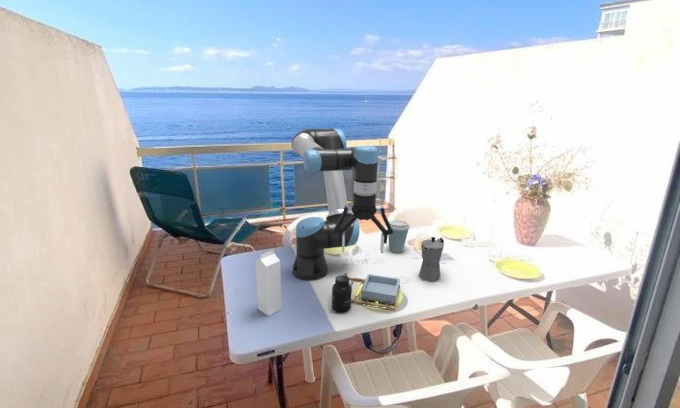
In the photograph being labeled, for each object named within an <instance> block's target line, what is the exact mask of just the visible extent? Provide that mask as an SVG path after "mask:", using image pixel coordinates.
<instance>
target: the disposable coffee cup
mask: <svg viewBox="0 0 680 408" xmlns="http://www.w3.org/2000/svg"><path fill="white" fill-rule="evenodd" d="M389 224H390V226H391V228H392V230H393V233H392V234H388V236H387V239H388V249H389V251H390V252H391V253H394V254H400V253H402V252H403V251H404V248H405V244H406V242H407V241H406V240H407V237H408V233H409V229H410V224H409V222H408V221H405V220H396V219H395V220H390V221H389Z"/></svg>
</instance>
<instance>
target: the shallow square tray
mask: <svg viewBox="0 0 680 408" xmlns="http://www.w3.org/2000/svg"><path fill="white" fill-rule="evenodd" d="M365 279H366V280H365V283H364V284H363V287H362V289H361V292H360V299H363V301H366V302H369V301H379V303H380V302H381V303H385V304H386V303H387V305H389V306H393V305H396V303H397V297H398V294H399V289H400V288H399V285H400V283H401V280H400V278H397V277H391V276H383V275H377V274H370V273H368V274H367V275H366V277H365Z"/></svg>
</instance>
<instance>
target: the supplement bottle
mask: <svg viewBox="0 0 680 408" xmlns="http://www.w3.org/2000/svg"><path fill="white" fill-rule="evenodd" d="M349 277H350V276H348V275H347V276H345V275H343V274H339V275H337V276H335V279H334V280H335V282H334V283H333V284H332V289H331V293H332V294H331V308H332V310H333V311H334V312H335V313H338V314H346V313H348V312H349V311H350V310H351V308H352V303H351V299H352V291H353V290H352V289H353V286H352V287H351V285H350V280H349Z"/></svg>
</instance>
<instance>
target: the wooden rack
mask: <svg viewBox="0 0 680 408" xmlns="http://www.w3.org/2000/svg"><path fill="white" fill-rule="evenodd" d="M342 275H345V276H348V273H347V272H344V273H343V274H342ZM348 277H349V281H350V282H349V284H350V285H351V287H352V288H353V286H354V283H355V282H359V283H360V284H359V286H360V285H361V284H363V285H364V283H365V280H366V278H359V277H352V276H348ZM400 288H401V284H399V289H400ZM359 297H360V294H358V295H357V296H356V294H355V295H354V298H351V304H355V305H362V306H366V305H370V306H369V307H371V306H378V307H386V308H389V309H388V310H390V311H393V312H394V311H396V306H393V305H391V306H389V305H386V304H383V303H378V304H377V303H375V302H373V301H372V302H370V301H368V302H366V301H364V300H360V299H359V300H358V299H357V298H359ZM363 304H365V305H363Z"/></svg>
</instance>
